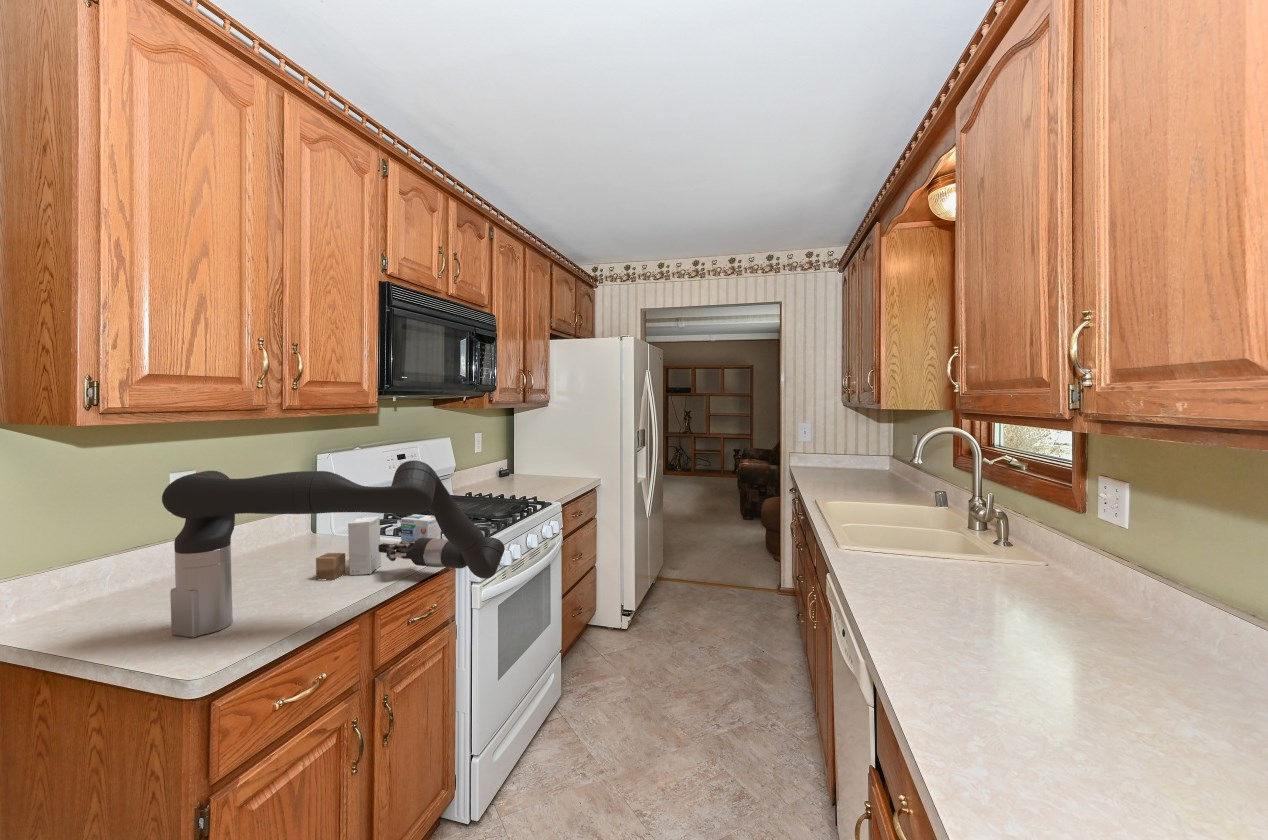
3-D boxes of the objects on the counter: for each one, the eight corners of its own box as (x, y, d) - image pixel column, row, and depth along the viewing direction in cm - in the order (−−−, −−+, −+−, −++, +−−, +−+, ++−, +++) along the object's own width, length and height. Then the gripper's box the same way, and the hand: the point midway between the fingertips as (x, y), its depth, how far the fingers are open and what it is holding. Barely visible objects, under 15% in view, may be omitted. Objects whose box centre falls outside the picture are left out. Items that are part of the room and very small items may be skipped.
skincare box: (370, 575, 145) (370, 522, 144) (347, 575, 144) (347, 522, 144) (381, 565, 153) (381, 515, 153) (360, 566, 153) (359, 515, 152)
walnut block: (333, 580, 141) (333, 558, 140) (316, 580, 141) (315, 558, 141) (345, 574, 146) (345, 553, 145) (328, 573, 146) (328, 552, 146)
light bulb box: (400, 551, 168) (399, 518, 168) (414, 545, 174) (414, 513, 174) (428, 554, 165) (427, 520, 164) (441, 548, 171) (441, 516, 171)
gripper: (448, 533, 149) (396, 528, 153) (417, 545, 136) (362, 540, 141) (448, 559, 149) (396, 554, 154) (418, 573, 137) (362, 568, 141)
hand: (380, 547), depth 147 cm, fingers closed
